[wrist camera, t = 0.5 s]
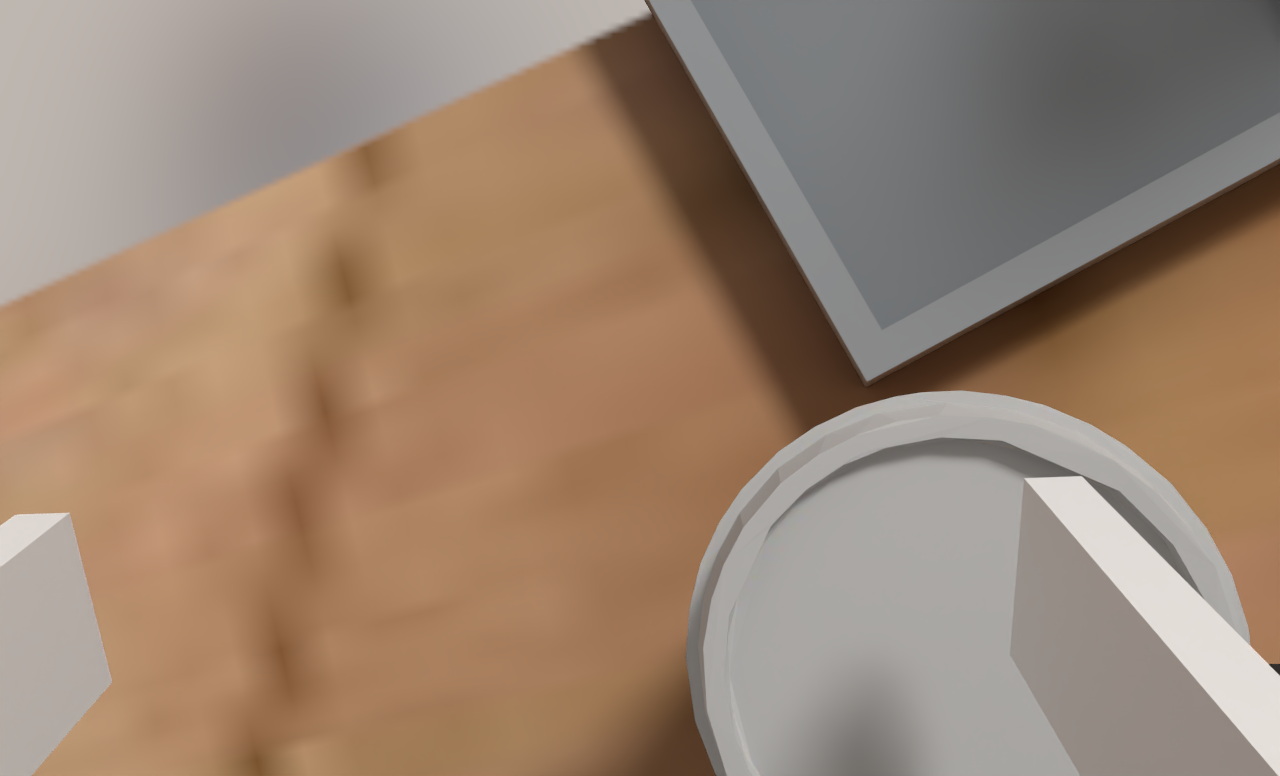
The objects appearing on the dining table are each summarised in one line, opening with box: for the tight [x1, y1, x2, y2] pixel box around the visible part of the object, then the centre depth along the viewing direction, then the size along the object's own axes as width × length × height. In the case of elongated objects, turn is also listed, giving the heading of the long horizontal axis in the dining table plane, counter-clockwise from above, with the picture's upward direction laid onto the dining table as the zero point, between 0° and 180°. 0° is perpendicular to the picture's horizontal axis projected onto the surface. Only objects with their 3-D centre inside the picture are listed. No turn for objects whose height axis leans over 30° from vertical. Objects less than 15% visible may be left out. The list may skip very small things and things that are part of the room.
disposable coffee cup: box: [686, 391, 1250, 776], centre depth 22 cm, size 10×10×12 cm
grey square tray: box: [645, 0, 1280, 388], centre depth 28 cm, size 15×15×2 cm
